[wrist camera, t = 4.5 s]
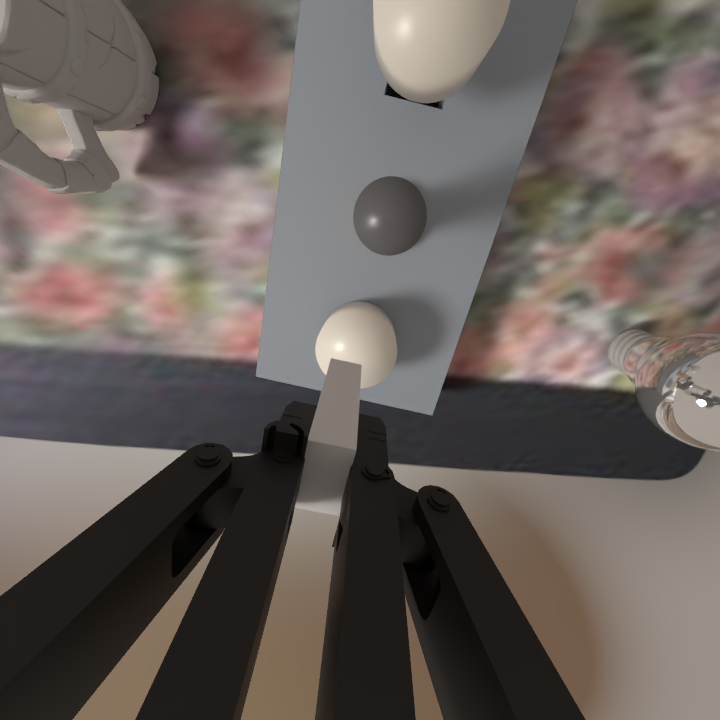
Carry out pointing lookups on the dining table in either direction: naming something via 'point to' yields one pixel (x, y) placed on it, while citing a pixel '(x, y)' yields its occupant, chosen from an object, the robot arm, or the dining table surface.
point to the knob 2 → (434, 43)
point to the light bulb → (674, 382)
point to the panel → (401, 159)
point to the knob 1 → (359, 341)
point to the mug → (73, 84)
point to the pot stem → (390, 215)
